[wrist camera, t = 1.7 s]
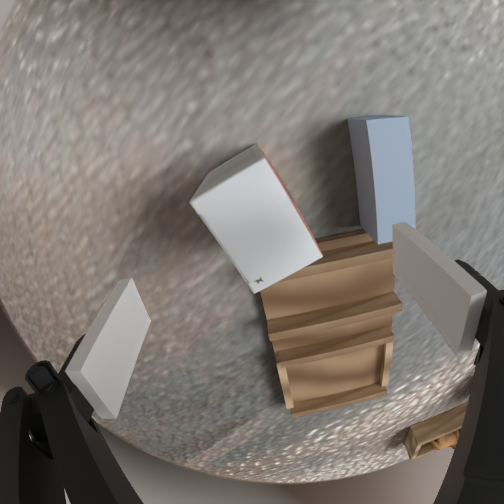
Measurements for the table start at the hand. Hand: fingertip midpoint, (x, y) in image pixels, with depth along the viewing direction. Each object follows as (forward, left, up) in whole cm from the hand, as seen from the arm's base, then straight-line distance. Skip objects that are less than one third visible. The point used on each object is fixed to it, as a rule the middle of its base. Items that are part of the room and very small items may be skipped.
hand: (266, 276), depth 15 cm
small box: (0, 0, -16) cm, 16 cm away
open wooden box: (+54, +30, -16) cm, 64 cm away
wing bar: (0, +12, -16) cm, 20 cm away
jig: (+18, +6, -16) cm, 25 cm away
